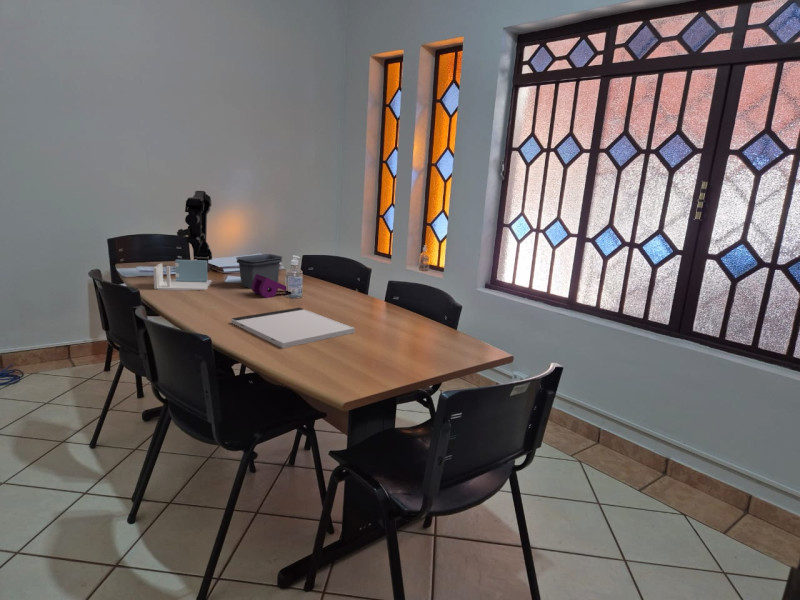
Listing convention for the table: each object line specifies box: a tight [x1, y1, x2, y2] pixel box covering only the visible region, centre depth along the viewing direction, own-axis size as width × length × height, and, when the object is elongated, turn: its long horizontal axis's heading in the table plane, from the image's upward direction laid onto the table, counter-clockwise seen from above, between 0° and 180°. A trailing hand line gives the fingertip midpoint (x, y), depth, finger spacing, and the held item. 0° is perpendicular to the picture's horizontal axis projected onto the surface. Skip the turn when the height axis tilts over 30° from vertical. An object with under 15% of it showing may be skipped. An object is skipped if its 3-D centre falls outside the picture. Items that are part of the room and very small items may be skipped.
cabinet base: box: [152, 262, 213, 291], centre depth 251 cm, size 19×22×10 cm
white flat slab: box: [230, 307, 356, 349], centre depth 199 cm, size 35×2×31 cm
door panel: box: [174, 259, 208, 282], centre depth 255 cm, size 4×14×10 cm, turn 101°
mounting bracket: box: [250, 274, 287, 299], centre depth 247 cm, size 10×8×18 cm
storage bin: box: [235, 253, 284, 290], centre depth 262 cm, size 21×16×14 cm
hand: (195, 254), depth 267 cm, fingers closed
